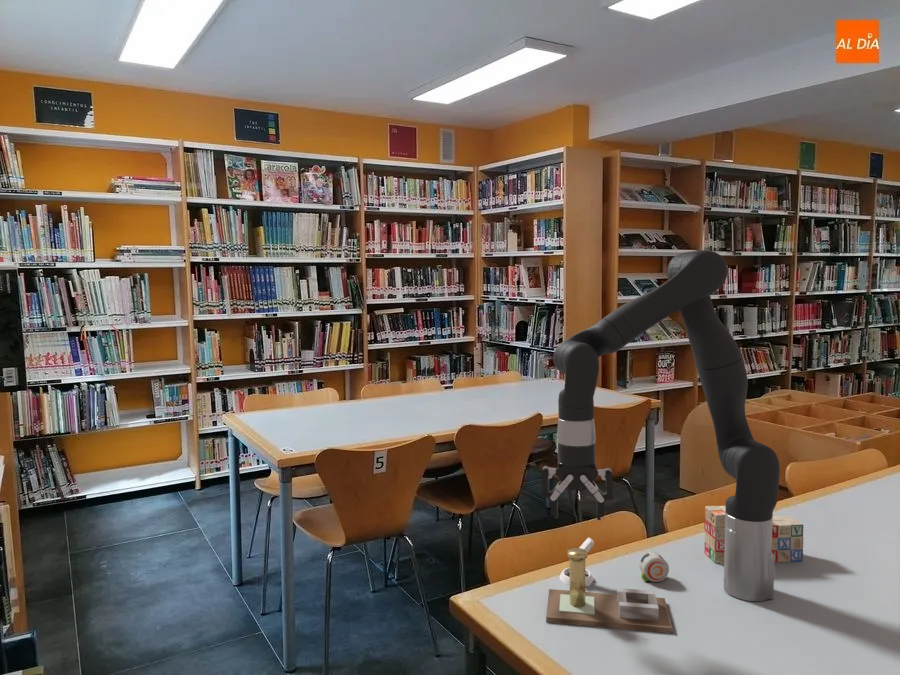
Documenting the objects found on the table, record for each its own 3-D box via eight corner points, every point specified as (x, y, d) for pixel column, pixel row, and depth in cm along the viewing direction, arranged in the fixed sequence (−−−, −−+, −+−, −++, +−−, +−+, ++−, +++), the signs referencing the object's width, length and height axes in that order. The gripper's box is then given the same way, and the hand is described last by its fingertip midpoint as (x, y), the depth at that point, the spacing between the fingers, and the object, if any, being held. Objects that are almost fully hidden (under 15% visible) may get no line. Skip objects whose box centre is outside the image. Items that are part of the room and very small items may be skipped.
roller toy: (636, 574, 149) (637, 550, 149) (663, 573, 150) (664, 549, 149) (643, 583, 145) (643, 558, 145) (671, 582, 145) (671, 557, 145)
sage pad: (594, 598, 137) (594, 596, 137) (594, 614, 130) (594, 613, 130) (560, 595, 138) (560, 594, 138) (559, 611, 131) (559, 610, 131)
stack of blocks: (789, 551, 161) (790, 503, 160) (803, 562, 155) (804, 512, 154) (703, 553, 161) (704, 505, 160) (714, 564, 154) (715, 514, 153)
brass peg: (587, 599, 135) (587, 548, 134) (587, 609, 131) (587, 556, 130) (568, 598, 136) (567, 547, 135) (567, 607, 132) (567, 555, 131)
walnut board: (664, 602, 136) (664, 586, 136) (672, 633, 125) (672, 615, 124) (549, 593, 141) (549, 577, 141) (546, 621, 129) (546, 605, 129)
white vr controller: (619, 564, 143) (595, 550, 141) (585, 603, 145) (561, 590, 144) (607, 544, 150) (584, 530, 148) (576, 582, 152) (553, 569, 151)
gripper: (611, 436, 133) (612, 513, 135) (541, 434, 136) (543, 510, 137) (613, 445, 126) (614, 526, 127) (539, 443, 129) (540, 523, 130)
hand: (577, 517), depth 132 cm, fingers open, 8 cm apart
